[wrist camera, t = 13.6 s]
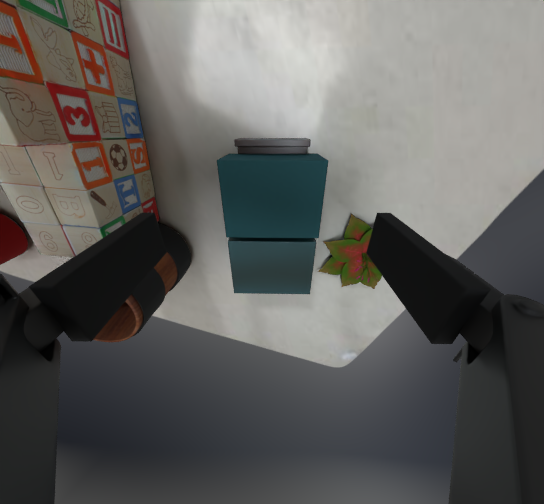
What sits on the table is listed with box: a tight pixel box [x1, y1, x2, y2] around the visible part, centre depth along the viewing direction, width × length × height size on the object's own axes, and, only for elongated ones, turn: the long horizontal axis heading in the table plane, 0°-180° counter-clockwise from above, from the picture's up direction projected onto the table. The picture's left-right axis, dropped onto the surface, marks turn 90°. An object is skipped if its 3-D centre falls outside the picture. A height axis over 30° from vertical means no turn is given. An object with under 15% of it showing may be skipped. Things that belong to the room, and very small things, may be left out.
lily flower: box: [318, 214, 382, 289], centre depth 26 cm, size 12×12×5 cm
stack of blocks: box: [0, 0, 159, 257], centre depth 15 cm, size 21×6×12 cm, turn 175°
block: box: [217, 154, 328, 238], centre depth 21 cm, size 7×9×5 cm
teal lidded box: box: [228, 138, 316, 294], centre depth 23 cm, size 17×9×6 cm, turn 0°
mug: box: [93, 223, 191, 342], centre depth 24 cm, size 9×12×12 cm
